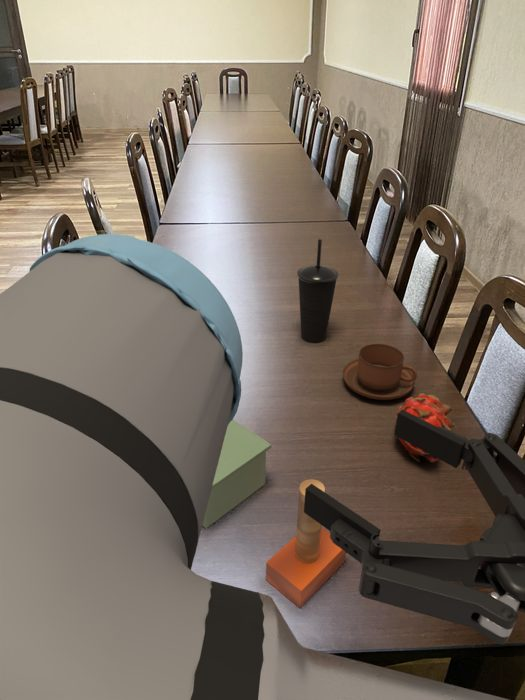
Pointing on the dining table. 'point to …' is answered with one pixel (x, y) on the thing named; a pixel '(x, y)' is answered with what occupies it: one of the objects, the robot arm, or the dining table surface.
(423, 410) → the dragon fruit
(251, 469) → the cabinet
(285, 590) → the wooden peg on base
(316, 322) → the drinking cup
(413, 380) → the cup and saucer
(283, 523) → the dining table surface
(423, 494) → the dining table surface
